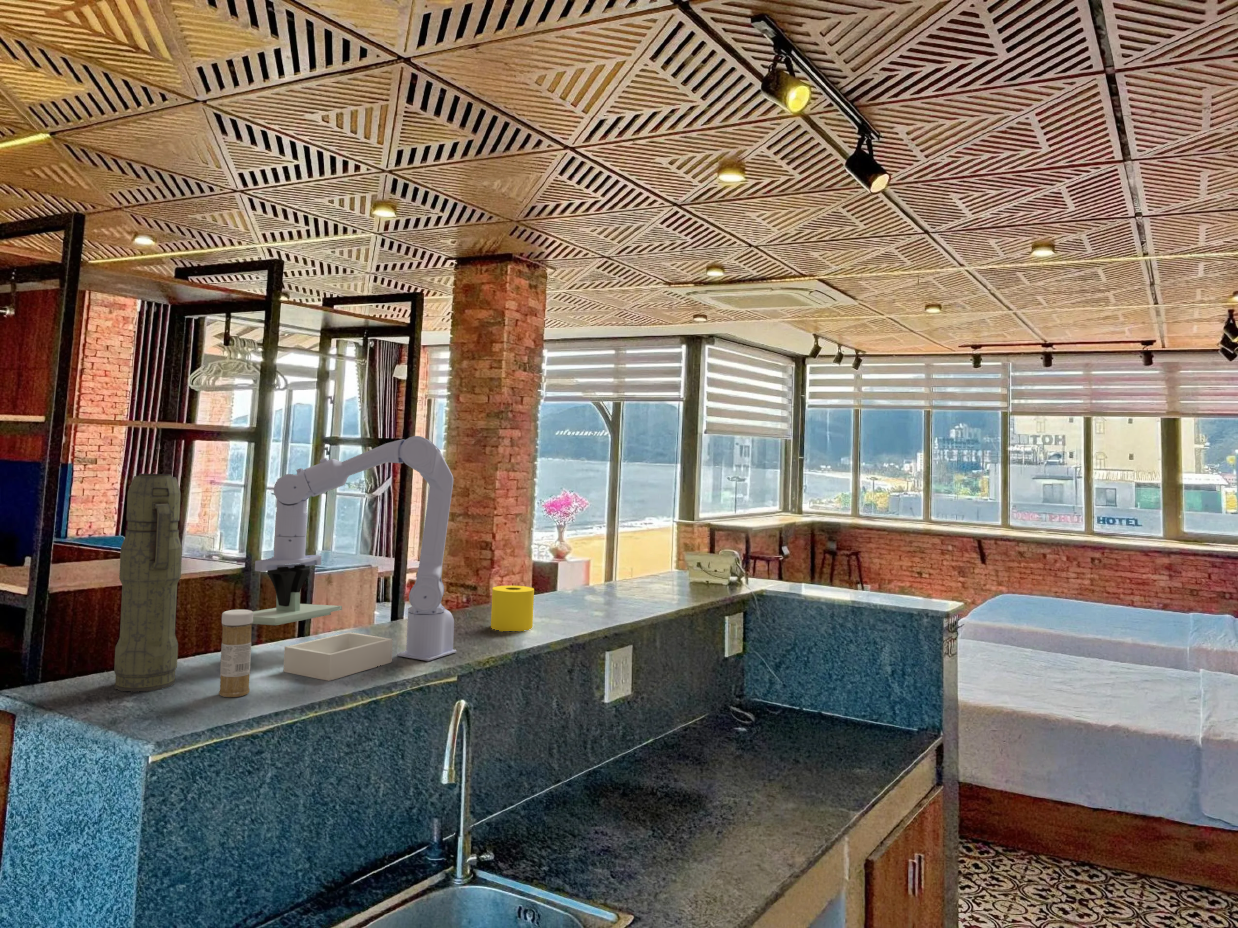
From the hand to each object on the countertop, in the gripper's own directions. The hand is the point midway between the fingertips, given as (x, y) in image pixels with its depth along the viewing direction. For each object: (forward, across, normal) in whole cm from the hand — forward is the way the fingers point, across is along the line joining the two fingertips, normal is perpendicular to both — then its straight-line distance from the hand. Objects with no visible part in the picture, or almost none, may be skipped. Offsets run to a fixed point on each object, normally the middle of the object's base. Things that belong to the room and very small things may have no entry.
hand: (287, 604), depth 154 cm
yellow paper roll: (+10, -49, +21) cm, 54 cm away
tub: (+10, +1, +15) cm, 18 cm away
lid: (+3, 0, 0) cm, 3 cm away
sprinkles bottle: (+10, +23, +14) cm, 29 cm away
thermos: (+10, +27, -2) cm, 29 cm away
